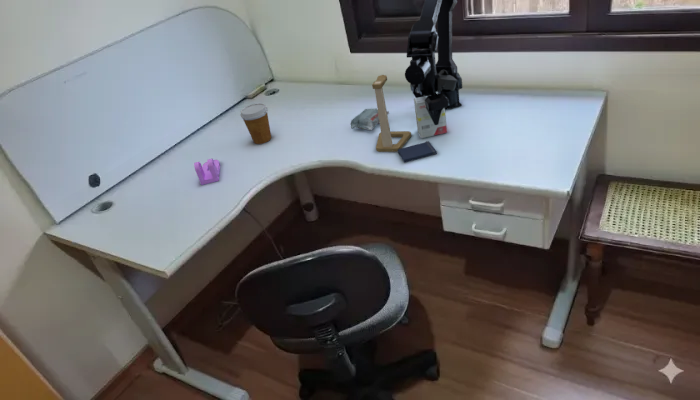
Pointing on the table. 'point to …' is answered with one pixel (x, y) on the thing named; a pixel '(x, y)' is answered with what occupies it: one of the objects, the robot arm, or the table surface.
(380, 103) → the headphone stand
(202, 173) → the bracket
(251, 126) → the disposable coffee cup
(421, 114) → the ink box
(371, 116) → the packaged food
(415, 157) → the notepad
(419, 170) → the table surface
